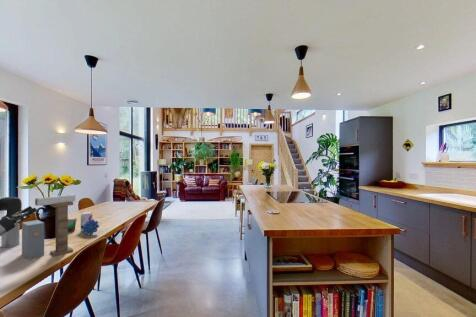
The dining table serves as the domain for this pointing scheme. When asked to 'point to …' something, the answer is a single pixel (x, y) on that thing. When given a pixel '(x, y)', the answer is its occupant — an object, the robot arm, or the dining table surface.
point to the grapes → (90, 227)
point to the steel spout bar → (54, 200)
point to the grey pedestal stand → (61, 229)
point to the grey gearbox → (32, 239)
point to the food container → (71, 224)
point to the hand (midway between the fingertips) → (33, 208)
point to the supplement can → (85, 218)
